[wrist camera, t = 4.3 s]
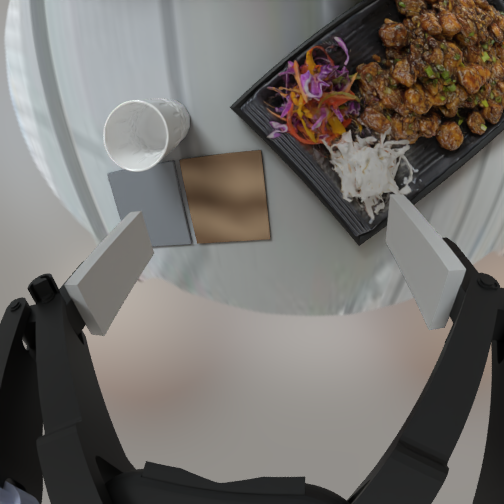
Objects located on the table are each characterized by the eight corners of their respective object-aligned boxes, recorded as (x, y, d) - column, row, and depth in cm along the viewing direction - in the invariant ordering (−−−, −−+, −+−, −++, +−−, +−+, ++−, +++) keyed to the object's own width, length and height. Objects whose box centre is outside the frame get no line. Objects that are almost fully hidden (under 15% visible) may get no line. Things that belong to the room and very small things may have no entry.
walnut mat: (180, 159, 38) (179, 160, 38) (260, 149, 37) (260, 150, 36) (198, 241, 45) (197, 243, 45) (270, 237, 44) (270, 239, 43)
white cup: (152, 86, 33) (115, 91, 24) (204, 107, 34) (180, 115, 26) (133, 138, 37) (95, 156, 29) (181, 159, 38) (154, 182, 30)
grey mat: (109, 172, 40) (107, 174, 39) (174, 160, 38) (172, 161, 38) (131, 246, 47) (130, 248, 46) (192, 241, 45) (191, 243, 45)
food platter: (352, 231, 42) (369, 271, 34) (234, 105, 34) (219, 111, 26) (533, 81, 23) (574, 91, 15) (453, -46, 15) (487, -63, 7)
